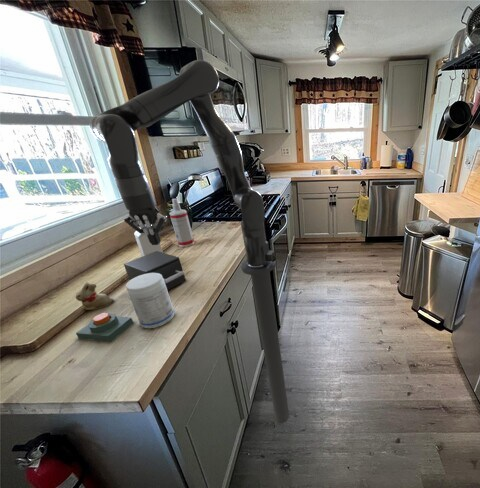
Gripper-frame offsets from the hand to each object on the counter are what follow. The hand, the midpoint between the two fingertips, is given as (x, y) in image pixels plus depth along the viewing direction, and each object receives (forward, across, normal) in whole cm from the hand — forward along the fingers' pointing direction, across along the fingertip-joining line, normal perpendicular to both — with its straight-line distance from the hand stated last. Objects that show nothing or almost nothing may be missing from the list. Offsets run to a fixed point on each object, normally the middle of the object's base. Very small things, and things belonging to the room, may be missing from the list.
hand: (156, 243), depth 83 cm
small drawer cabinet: (+23, +13, -9) cm, 28 cm away
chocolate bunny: (+22, +26, +4) cm, 35 cm away
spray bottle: (+27, +23, -50) cm, 61 cm away
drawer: (+22, +9, -8) cm, 25 cm away
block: (+21, +12, +17) cm, 29 cm away
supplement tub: (+22, 0, +12) cm, 24 cm away
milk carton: (+25, +27, -28) cm, 46 cm away
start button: (+17, +12, +16) cm, 27 cm away
